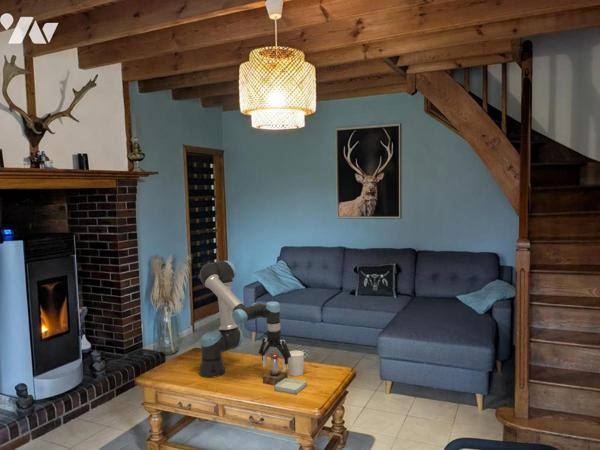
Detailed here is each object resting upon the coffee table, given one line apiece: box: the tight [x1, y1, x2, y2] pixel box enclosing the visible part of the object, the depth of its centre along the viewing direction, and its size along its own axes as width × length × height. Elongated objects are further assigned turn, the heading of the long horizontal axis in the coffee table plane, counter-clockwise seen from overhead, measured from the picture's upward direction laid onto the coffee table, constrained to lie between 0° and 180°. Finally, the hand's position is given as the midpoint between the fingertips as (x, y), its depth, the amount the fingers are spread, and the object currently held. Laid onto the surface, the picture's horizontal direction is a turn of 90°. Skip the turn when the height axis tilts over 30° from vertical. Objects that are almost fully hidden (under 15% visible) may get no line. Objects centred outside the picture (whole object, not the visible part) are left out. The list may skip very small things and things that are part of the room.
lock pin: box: [269, 352, 280, 377], centre depth 255 cm, size 5×5×16 cm
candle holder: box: [287, 350, 305, 377], centre depth 266 cm, size 10×10×12 cm
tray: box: [273, 377, 307, 396], centre depth 246 cm, size 13×12×3 cm
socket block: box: [262, 370, 289, 386], centre depth 256 cm, size 10×10×4 cm
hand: (275, 368), depth 256 cm, fingers open, 12 cm apart
